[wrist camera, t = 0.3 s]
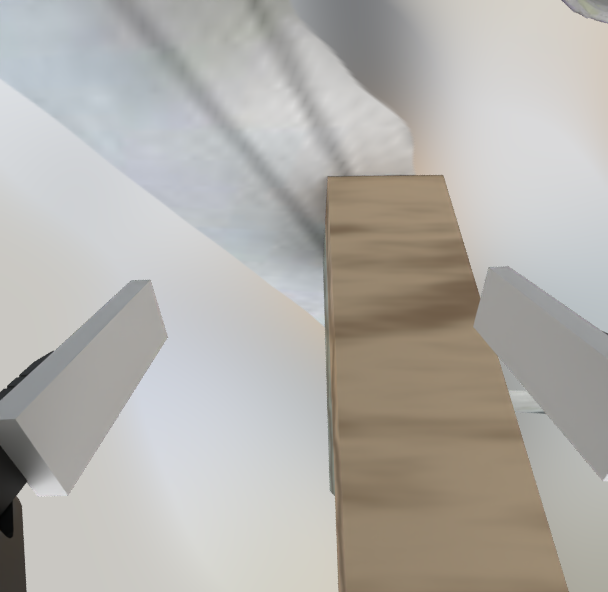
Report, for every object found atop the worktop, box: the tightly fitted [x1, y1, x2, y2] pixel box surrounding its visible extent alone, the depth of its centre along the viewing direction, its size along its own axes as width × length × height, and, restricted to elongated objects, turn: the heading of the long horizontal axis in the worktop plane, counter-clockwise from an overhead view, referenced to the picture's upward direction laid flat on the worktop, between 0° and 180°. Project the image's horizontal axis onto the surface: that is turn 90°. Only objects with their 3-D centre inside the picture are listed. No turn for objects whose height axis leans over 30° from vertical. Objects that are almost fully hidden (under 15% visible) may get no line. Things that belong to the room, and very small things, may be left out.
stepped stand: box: [323, 175, 569, 592], centre depth 26 cm, size 13×10×30 cm
